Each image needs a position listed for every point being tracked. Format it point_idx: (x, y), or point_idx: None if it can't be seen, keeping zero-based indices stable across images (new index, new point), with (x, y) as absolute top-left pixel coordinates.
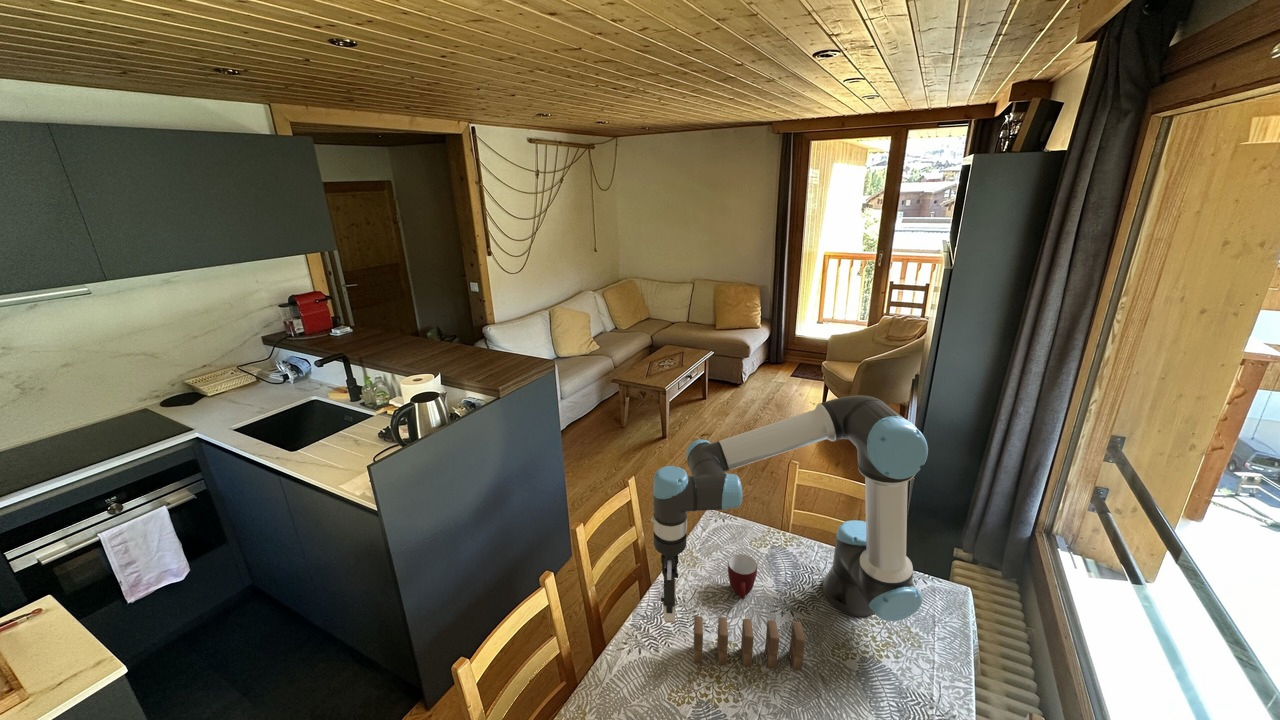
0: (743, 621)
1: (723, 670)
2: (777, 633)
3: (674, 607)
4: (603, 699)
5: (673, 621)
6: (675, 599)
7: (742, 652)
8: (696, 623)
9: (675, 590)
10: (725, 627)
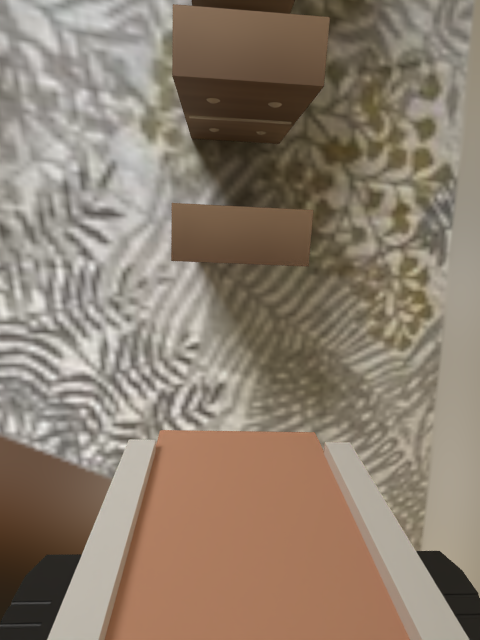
0: None
1: (302, 123)
2: None
3: (421, 568)
4: None
5: (316, 437)
6: (150, 457)
7: (245, 2)
8: (232, 249)
9: (128, 541)
10: (264, 29)
